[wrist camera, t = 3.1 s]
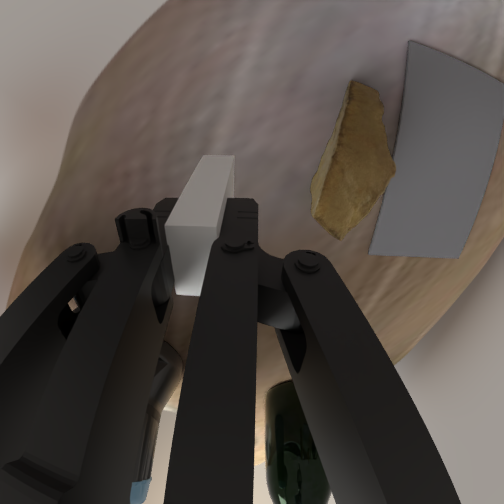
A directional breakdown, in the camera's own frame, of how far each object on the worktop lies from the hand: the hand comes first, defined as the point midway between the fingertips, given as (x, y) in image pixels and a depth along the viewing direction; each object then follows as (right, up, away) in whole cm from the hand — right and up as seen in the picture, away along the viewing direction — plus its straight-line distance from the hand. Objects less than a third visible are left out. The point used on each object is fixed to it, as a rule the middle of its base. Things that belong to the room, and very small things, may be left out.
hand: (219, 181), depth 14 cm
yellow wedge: (+9, +5, +7) cm, 13 cm away
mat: (+19, +4, +7) cm, 21 cm away
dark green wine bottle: (+9, -27, +30) cm, 41 cm away
